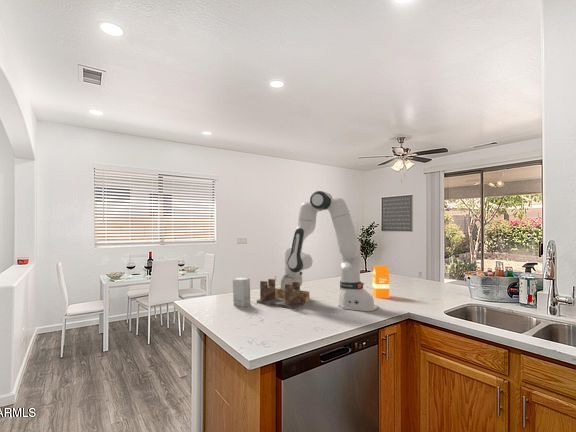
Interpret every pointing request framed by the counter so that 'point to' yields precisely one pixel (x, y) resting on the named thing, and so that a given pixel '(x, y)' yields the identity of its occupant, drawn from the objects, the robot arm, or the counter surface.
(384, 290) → the orange juice
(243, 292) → the skincare box
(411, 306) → the counter surface
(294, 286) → the slotted posts
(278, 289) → the oak rail
